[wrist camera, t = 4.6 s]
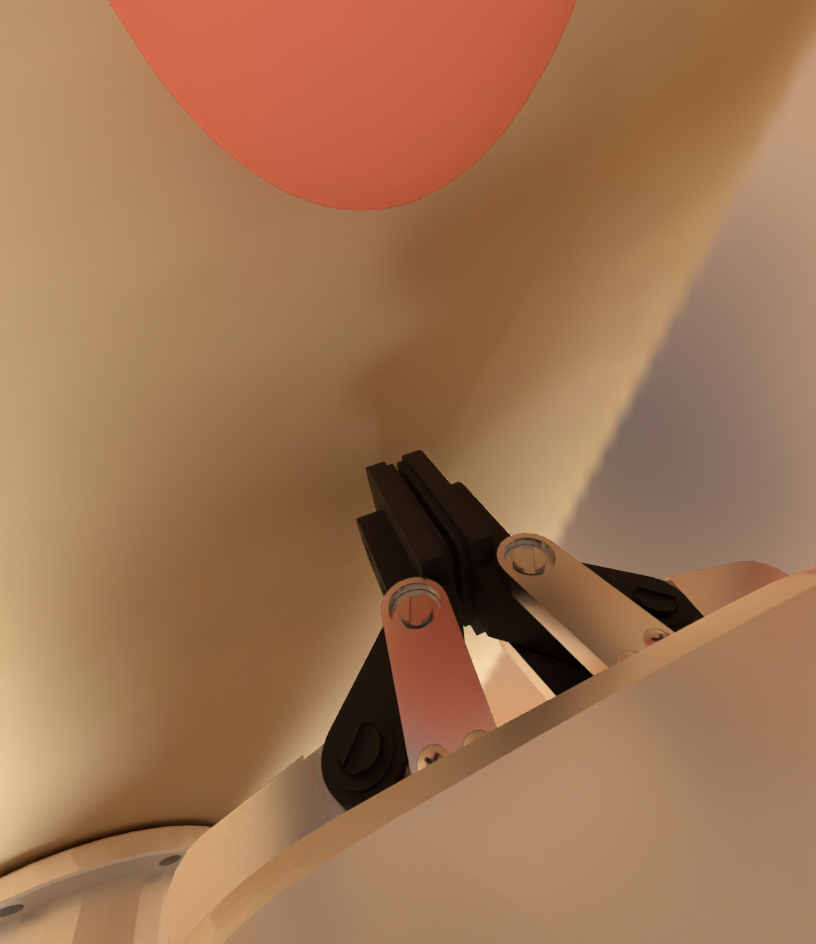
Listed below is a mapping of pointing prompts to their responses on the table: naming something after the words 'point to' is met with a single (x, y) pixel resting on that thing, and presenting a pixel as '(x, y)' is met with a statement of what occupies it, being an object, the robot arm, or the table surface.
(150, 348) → the table surface
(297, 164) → the ball
